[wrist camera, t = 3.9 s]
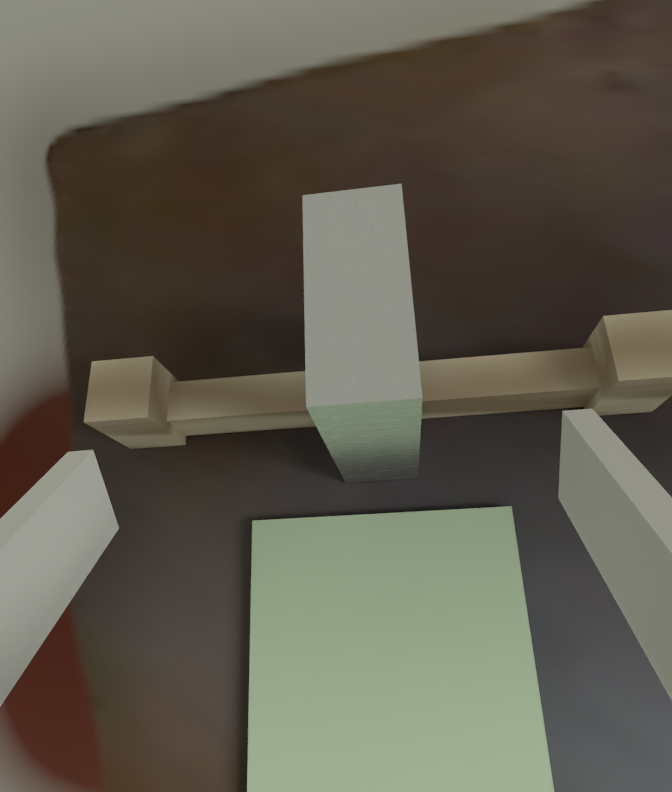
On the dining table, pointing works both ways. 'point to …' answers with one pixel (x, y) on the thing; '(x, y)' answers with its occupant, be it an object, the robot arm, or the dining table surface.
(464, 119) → the dining table surface
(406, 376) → the tall grey upright block
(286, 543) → the pad
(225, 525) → the dining table surface
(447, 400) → the rail stand
